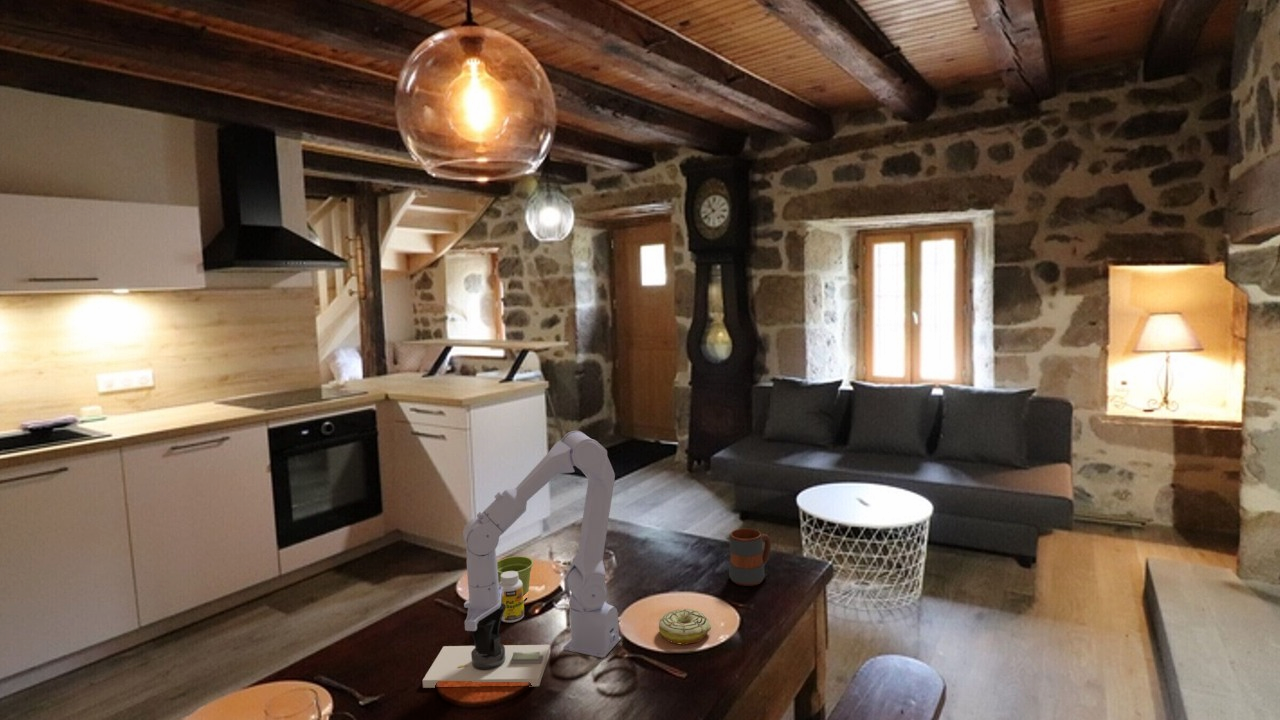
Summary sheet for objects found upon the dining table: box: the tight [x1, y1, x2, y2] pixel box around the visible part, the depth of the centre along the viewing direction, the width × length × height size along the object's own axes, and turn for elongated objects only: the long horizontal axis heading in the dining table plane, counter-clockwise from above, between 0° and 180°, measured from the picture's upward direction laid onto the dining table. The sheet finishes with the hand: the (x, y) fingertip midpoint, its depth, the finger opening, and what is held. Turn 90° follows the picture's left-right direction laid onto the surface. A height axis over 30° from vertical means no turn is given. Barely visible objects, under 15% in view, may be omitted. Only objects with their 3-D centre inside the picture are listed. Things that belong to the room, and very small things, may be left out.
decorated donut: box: [658, 608, 712, 645], centre depth 144 cm, size 10×11×4 cm
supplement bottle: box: [499, 571, 525, 623], centre depth 154 cm, size 6×6×10 cm
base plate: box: [422, 644, 551, 689], centre depth 134 cm, size 22×12×4 cm, turn 87°
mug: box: [728, 528, 772, 587], centre depth 169 cm, size 9×12×12 cm
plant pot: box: [497, 555, 534, 596], centre depth 163 cm, size 9×9×9 cm
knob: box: [471, 633, 505, 670], centre depth 134 cm, size 6×6×6 cm
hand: (488, 647), depth 134 cm, fingers closed on knob, 3 cm apart
